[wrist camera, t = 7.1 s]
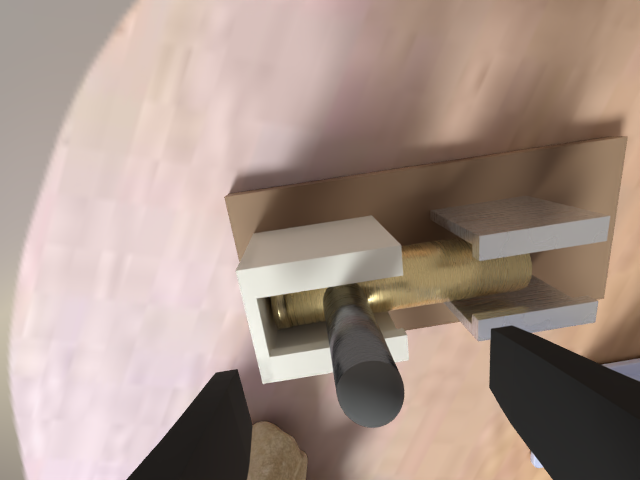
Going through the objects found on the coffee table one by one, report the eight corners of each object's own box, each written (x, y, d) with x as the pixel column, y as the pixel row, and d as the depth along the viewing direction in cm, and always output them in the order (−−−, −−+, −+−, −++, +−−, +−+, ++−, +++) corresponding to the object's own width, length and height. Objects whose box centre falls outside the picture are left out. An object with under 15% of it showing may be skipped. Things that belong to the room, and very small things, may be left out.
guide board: (608, 136, 17) (754, 134, 11) (588, 290, 19) (699, 347, 14) (228, 193, 16) (195, 219, 11) (262, 342, 19) (249, 422, 14)
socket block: (371, 215, 16) (401, 245, 11) (379, 303, 18) (408, 360, 13) (253, 233, 16) (235, 270, 11) (271, 320, 17) (262, 383, 13)
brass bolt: (493, 222, 16) (708, 312, 7) (491, 275, 17) (683, 409, 8) (271, 256, 15) (241, 388, 7) (282, 308, 16) (266, 480, 8)
